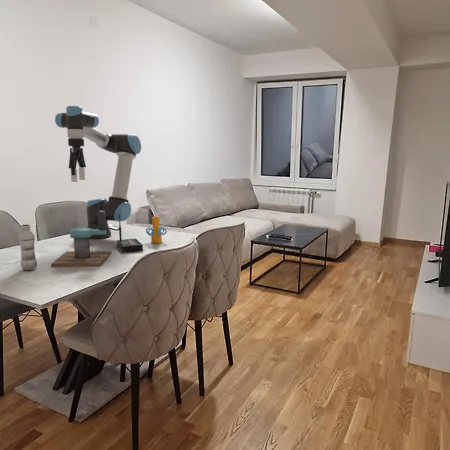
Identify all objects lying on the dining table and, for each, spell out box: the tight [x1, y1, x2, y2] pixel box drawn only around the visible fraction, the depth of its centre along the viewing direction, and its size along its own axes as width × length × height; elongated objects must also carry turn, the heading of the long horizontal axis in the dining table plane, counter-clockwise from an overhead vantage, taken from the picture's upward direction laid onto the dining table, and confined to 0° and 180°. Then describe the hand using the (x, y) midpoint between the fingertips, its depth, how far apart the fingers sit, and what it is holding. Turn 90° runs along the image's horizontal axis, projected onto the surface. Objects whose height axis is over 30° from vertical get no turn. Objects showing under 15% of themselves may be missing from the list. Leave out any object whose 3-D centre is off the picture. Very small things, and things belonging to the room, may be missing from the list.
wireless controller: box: [116, 215, 144, 254], centre depth 212 cm, size 20×14×17 cm
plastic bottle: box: [18, 224, 38, 271], centre depth 171 cm, size 6×7×20 cm
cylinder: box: [145, 215, 168, 244], centre depth 225 cm, size 12×10×15 cm
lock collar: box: [69, 211, 106, 239], centre depth 186 cm, size 17×10×12 cm, turn 94°
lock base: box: [50, 237, 112, 268], centre depth 188 cm, size 22×22×12 cm
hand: (78, 180), depth 199 cm, fingers open, 13 cm apart
